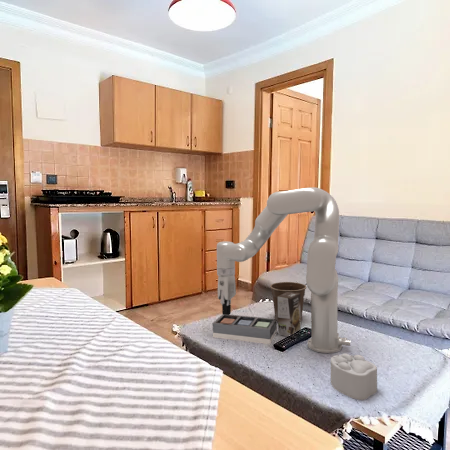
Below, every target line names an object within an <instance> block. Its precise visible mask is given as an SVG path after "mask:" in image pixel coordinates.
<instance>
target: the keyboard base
mask: <svg viewBox="0 0 450 450" xmlns="http://www.w3.org/2000/svg"><path fill="white" fill-rule="evenodd" d="M277 334H278V328H277V329H276V330H275V332H274V334H273V335H272V337H271V339H263V338H254V337H246V336H237V335H229V334H220V333H213V332H212V337H213V338H215V339H223V340H224V339H225V340H231V341H240V342H247V343H256V344H264V345H271V343H272V342H273V340H274V339H275V337H276V335H277Z"/></svg>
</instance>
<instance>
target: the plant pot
mask: <svg viewBox="0 0 450 450" xmlns="http://www.w3.org/2000/svg"><path fill="white" fill-rule="evenodd" d="M269 288H271V295H272V300H273V311H274V319H277V323H278V296H280V295H282V294H284V293H286V292H293V293H300V317H301V322H302V321H303V312H304V311H303V309H304V299H305V295H306V289H307V284H306V285H305V284H304V283H301V282H294V281H283V282H282V281H280V282H275V283H272V284H270V286H269Z"/></svg>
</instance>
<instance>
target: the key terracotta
mask: <svg viewBox="0 0 450 450" xmlns="http://www.w3.org/2000/svg"><path fill="white" fill-rule="evenodd" d="M234 321H235V319H228V318H224V319H223V320H222V321H221V322H220V323H222V324H232V323H233V322H234Z"/></svg>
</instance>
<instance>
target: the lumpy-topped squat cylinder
mask: <svg viewBox="0 0 450 450" xmlns="http://www.w3.org/2000/svg"><path fill="white" fill-rule="evenodd" d="M330 383H331V384H330V385H332V387H333V388H334V389H335V390H336V391H337V392H339V393H341V394H342V395H345V396H347V397H348V398H352V399H354V400H358V401H366V400H367V399H369V397H371V396H373V395H375V394H377V392H378V368H377V365H375V364H374V363H372V362H370V361H368V360H367V359H365V357H364V356H363V355H360V354H355V355H353V354H352V355H350V354H349V353H342V354H336V355H333V356H331V358H330Z"/></svg>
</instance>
